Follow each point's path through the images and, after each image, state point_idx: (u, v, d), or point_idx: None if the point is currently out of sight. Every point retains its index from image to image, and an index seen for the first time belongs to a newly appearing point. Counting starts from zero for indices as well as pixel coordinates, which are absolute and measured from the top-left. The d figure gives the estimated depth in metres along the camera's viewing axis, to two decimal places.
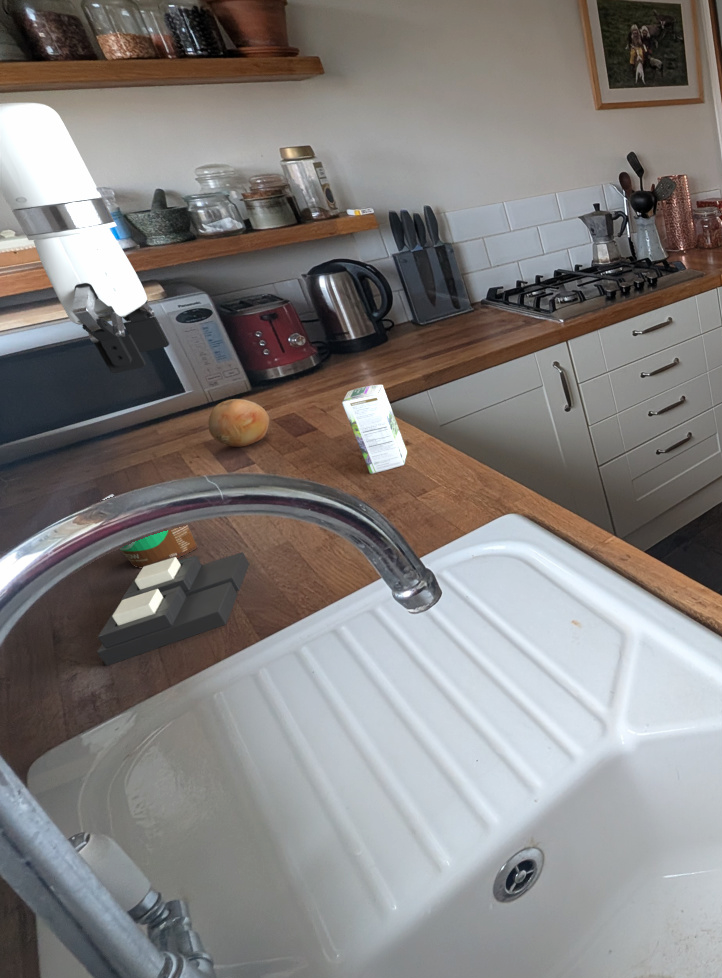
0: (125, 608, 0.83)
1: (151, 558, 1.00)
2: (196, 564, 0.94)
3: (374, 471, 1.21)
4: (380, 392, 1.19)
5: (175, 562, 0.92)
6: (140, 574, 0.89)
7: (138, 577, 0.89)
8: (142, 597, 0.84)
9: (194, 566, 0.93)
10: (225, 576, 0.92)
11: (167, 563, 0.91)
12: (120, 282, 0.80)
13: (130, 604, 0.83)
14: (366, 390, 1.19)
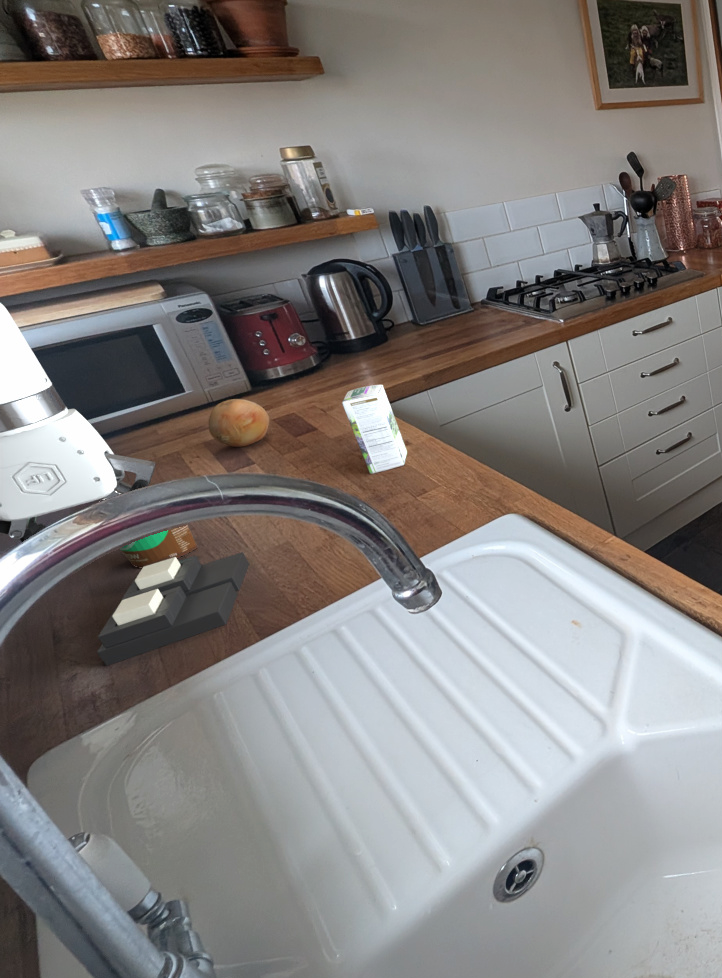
0: (125, 608, 0.83)
1: (151, 558, 1.00)
2: (196, 564, 0.94)
3: (374, 471, 1.21)
4: (380, 392, 1.19)
5: (175, 562, 0.92)
6: (140, 574, 0.89)
7: (138, 577, 0.89)
8: (142, 597, 0.84)
9: (194, 566, 0.93)
10: (225, 576, 0.92)
11: (167, 563, 0.91)
12: None
13: (130, 604, 0.83)
14: (366, 390, 1.19)
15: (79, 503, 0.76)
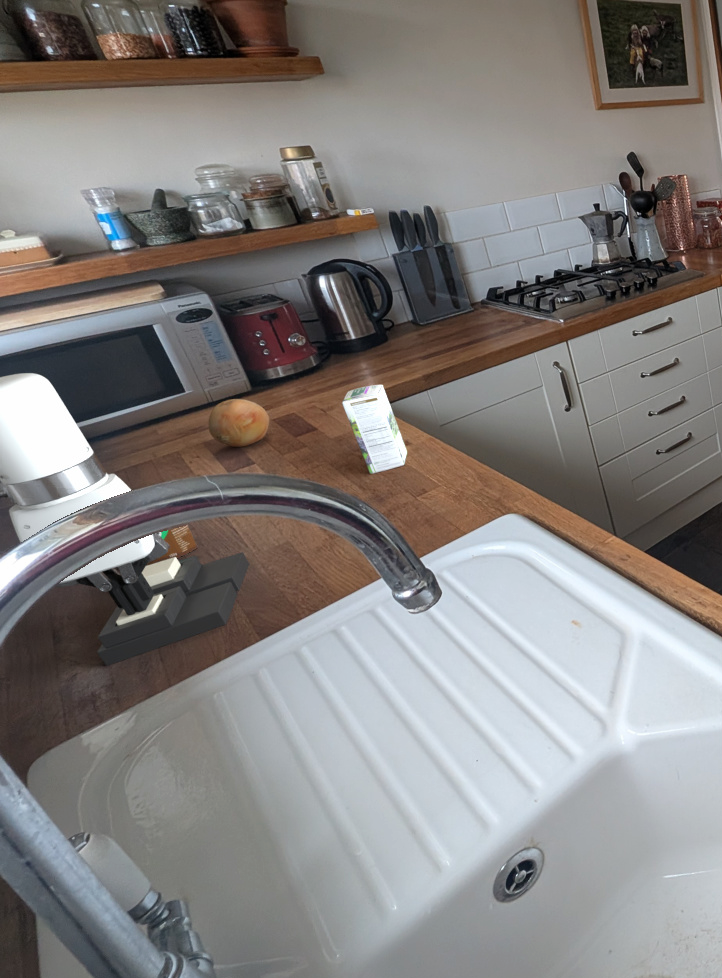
0: None
1: None
2: (196, 564, 0.94)
3: (374, 471, 1.21)
4: (380, 392, 1.19)
5: (175, 562, 0.92)
6: None
7: None
8: None
9: (194, 566, 0.93)
10: (225, 576, 0.92)
11: (167, 563, 0.91)
12: None
13: None
14: (366, 390, 1.19)
15: (119, 564, 0.80)
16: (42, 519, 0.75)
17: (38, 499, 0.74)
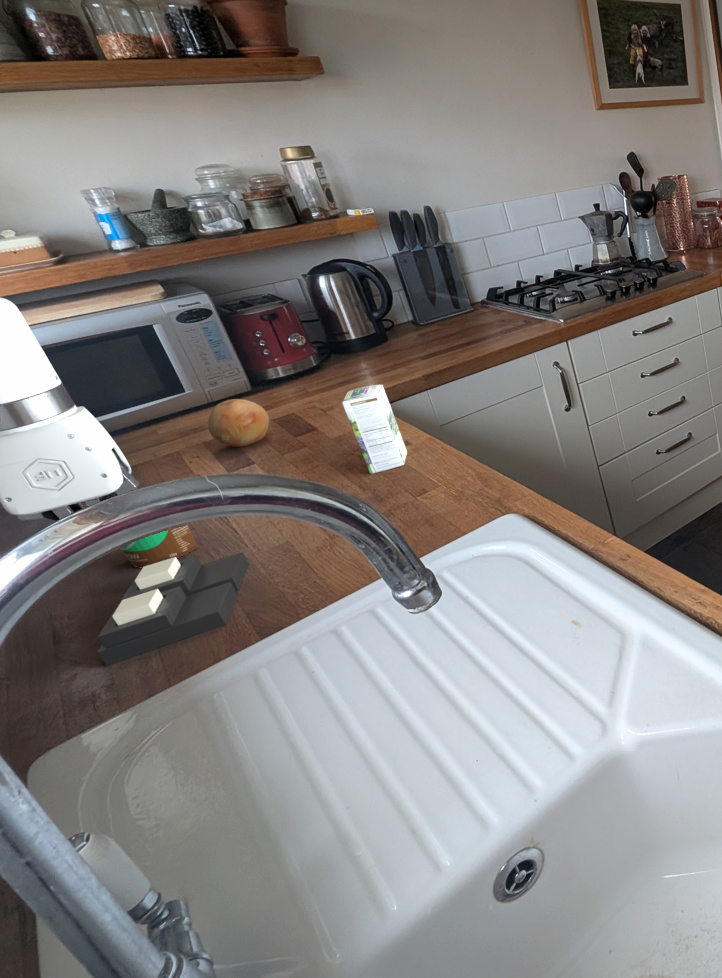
0: (125, 608, 0.83)
1: (151, 558, 1.00)
2: (196, 564, 0.94)
3: (374, 471, 1.21)
4: (380, 392, 1.19)
5: (175, 562, 0.92)
6: (140, 574, 0.89)
7: (138, 577, 0.89)
8: (142, 597, 0.84)
9: (194, 566, 0.93)
10: (225, 576, 0.92)
11: (167, 563, 0.91)
12: None
13: (130, 604, 0.83)
14: (366, 390, 1.19)
15: (86, 498, 0.78)
16: (6, 448, 0.73)
17: (2, 425, 0.72)
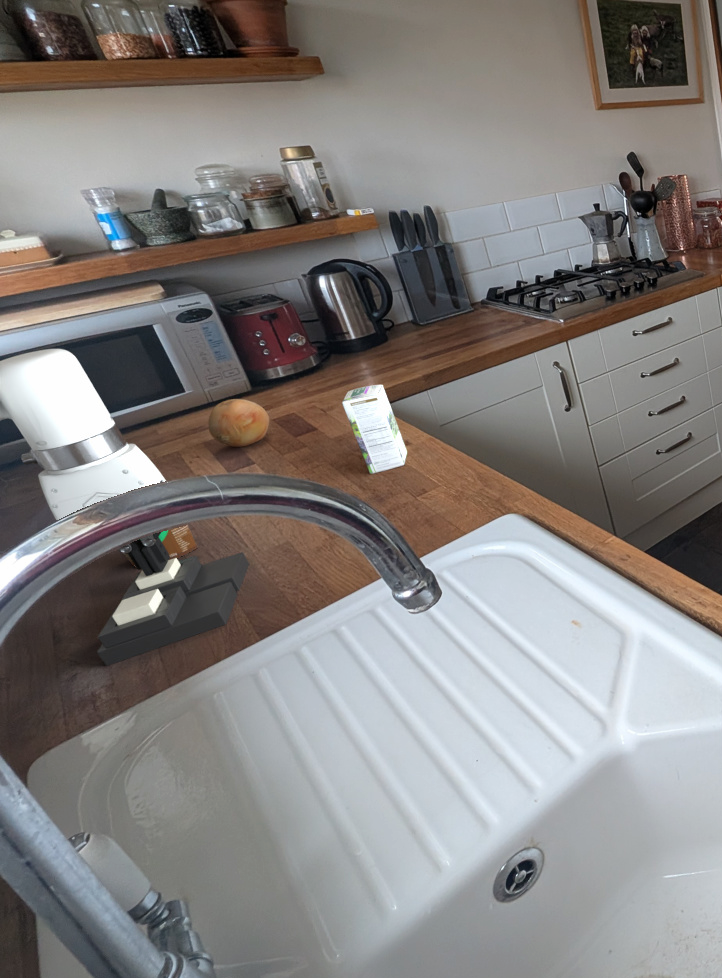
0: (125, 608, 0.83)
1: None
2: (196, 564, 0.94)
3: (374, 471, 1.21)
4: (380, 392, 1.19)
5: (176, 563, 0.92)
6: (141, 575, 0.89)
7: (139, 578, 0.89)
8: (142, 597, 0.84)
9: (194, 566, 0.93)
10: (225, 576, 0.92)
11: (167, 563, 0.91)
12: None
13: (130, 604, 0.83)
14: (366, 390, 1.19)
15: None
16: (69, 484, 0.81)
17: (65, 464, 0.80)
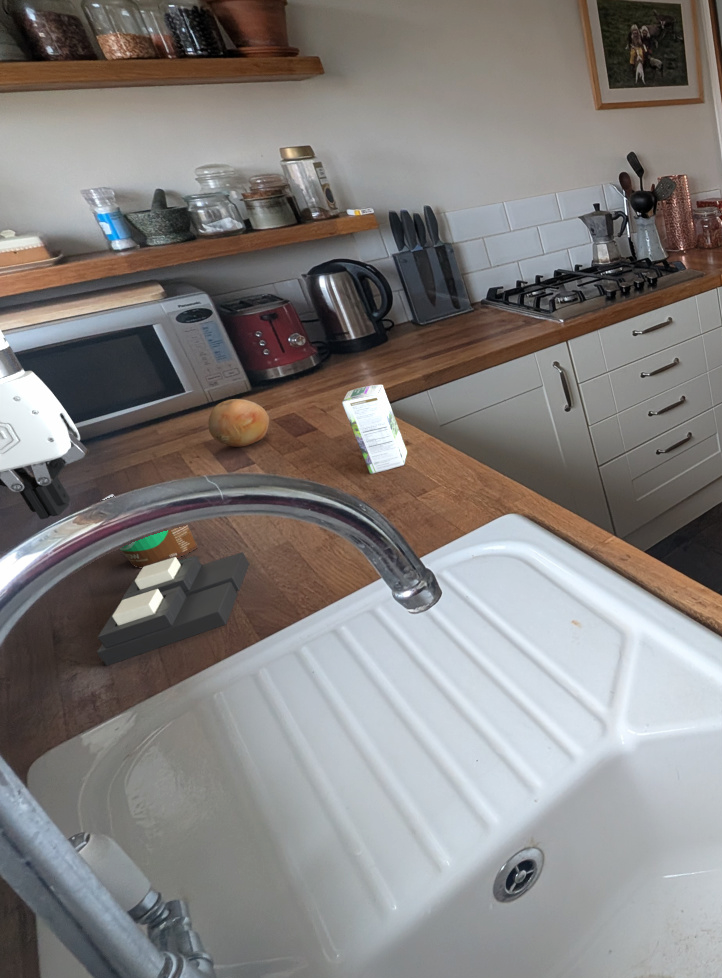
0: (125, 608, 0.83)
1: (151, 558, 1.00)
2: (196, 564, 0.94)
3: (374, 471, 1.21)
4: (380, 392, 1.19)
5: (175, 562, 0.92)
6: (140, 574, 0.89)
7: (138, 577, 0.89)
8: (142, 597, 0.84)
9: (194, 566, 0.93)
10: (225, 576, 0.92)
11: (167, 563, 0.91)
12: None
13: (130, 604, 0.83)
14: (366, 390, 1.19)
15: (32, 463, 0.78)
16: None
17: None
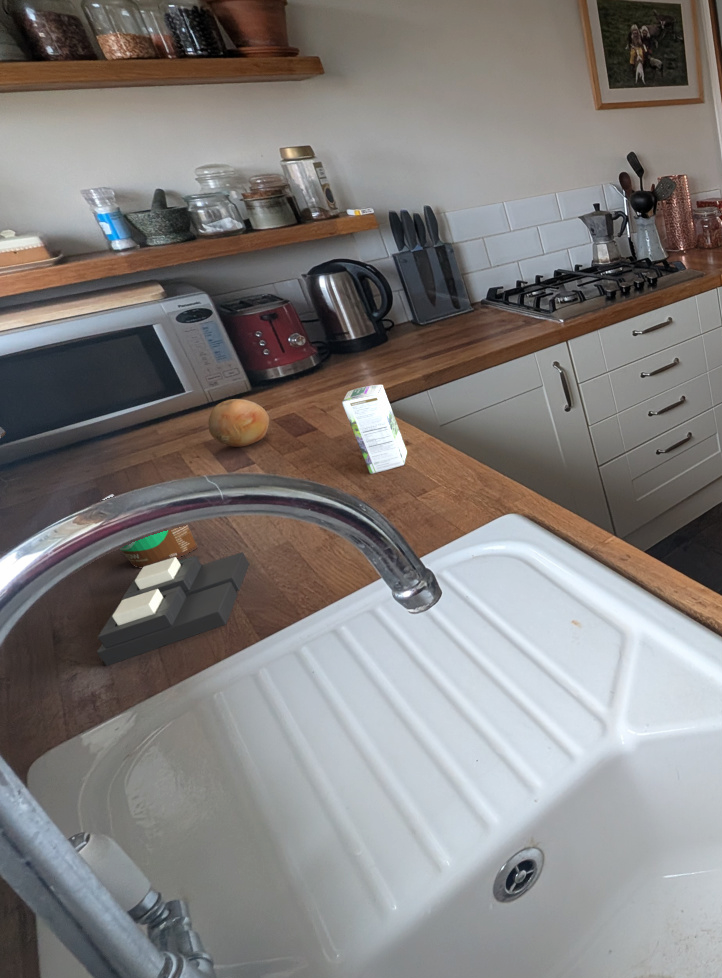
0: (125, 608, 0.83)
1: (151, 558, 1.00)
2: (196, 564, 0.94)
3: (374, 471, 1.21)
4: (380, 392, 1.19)
5: (175, 562, 0.92)
6: (140, 574, 0.89)
7: (138, 577, 0.89)
8: (142, 597, 0.84)
9: (194, 566, 0.93)
10: (225, 576, 0.92)
11: (167, 563, 0.91)
12: None
13: (130, 604, 0.83)
14: (366, 390, 1.19)
15: None
16: None
17: None
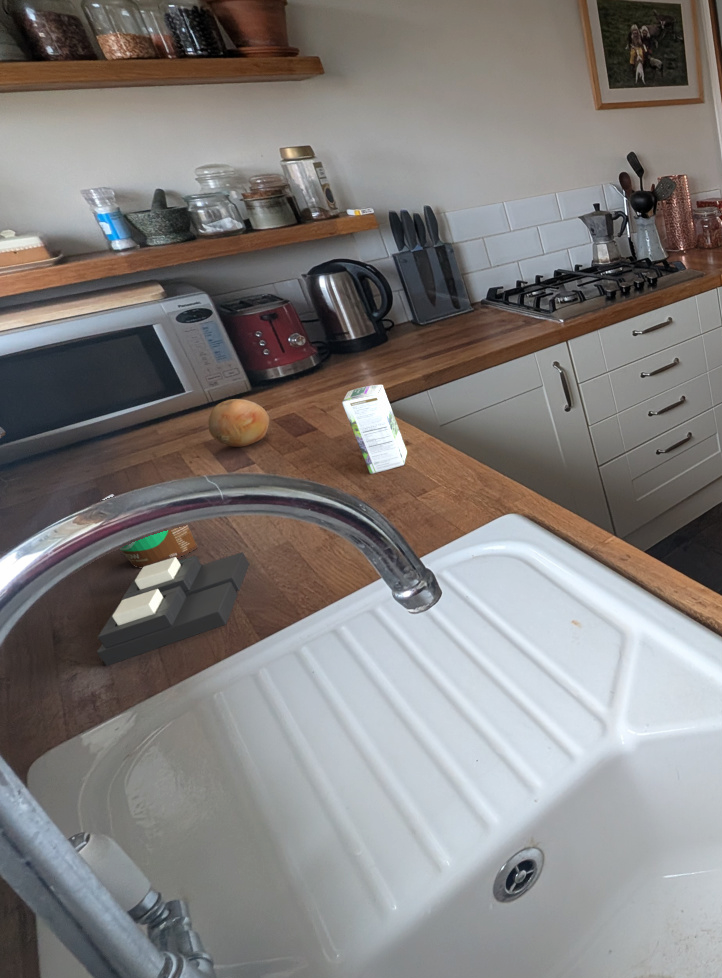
0: (125, 608, 0.83)
1: (151, 558, 1.00)
2: (196, 564, 0.94)
3: (374, 471, 1.21)
4: (380, 392, 1.19)
5: (175, 562, 0.92)
6: (140, 574, 0.89)
7: (138, 577, 0.89)
8: (142, 597, 0.84)
9: (194, 566, 0.93)
10: (225, 576, 0.92)
11: (167, 563, 0.91)
12: None
13: (130, 604, 0.83)
14: (366, 390, 1.19)
15: None
16: None
17: None
